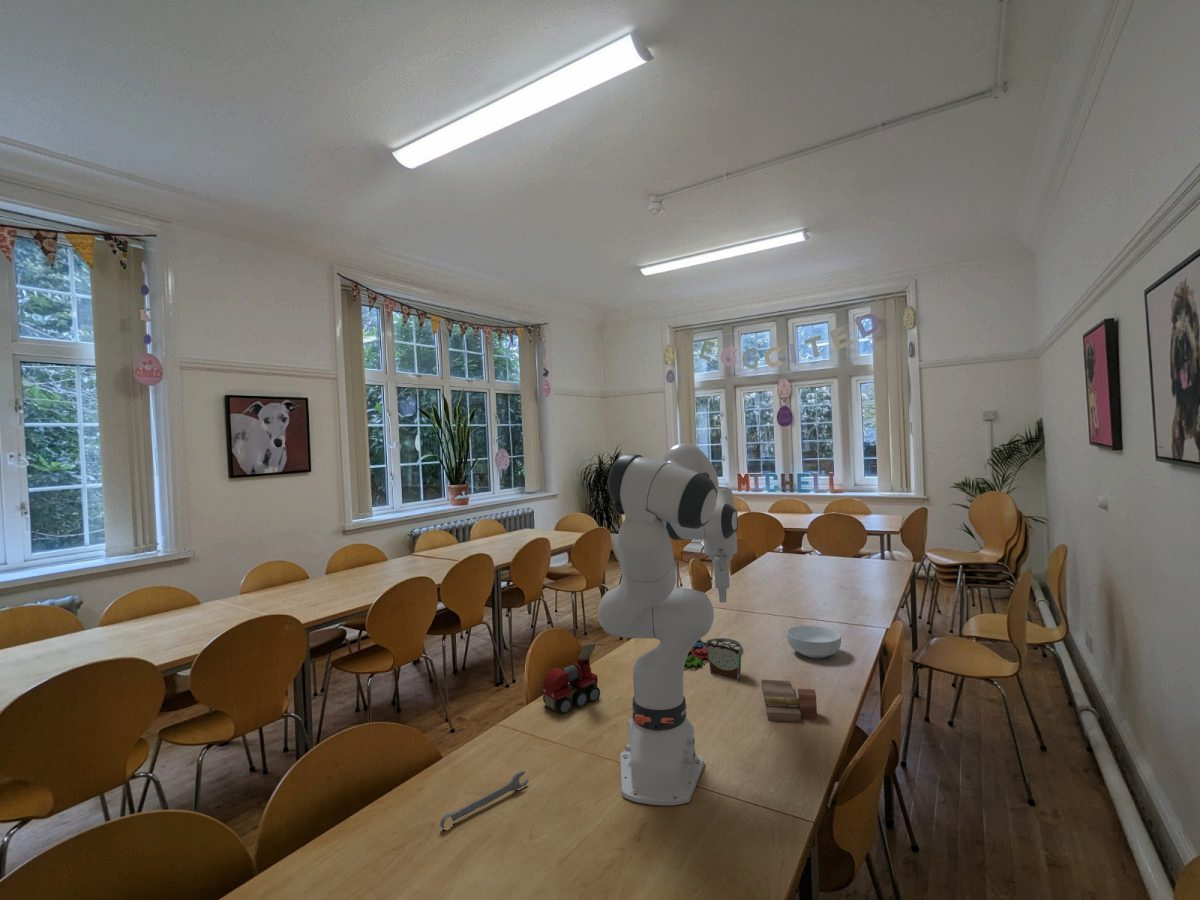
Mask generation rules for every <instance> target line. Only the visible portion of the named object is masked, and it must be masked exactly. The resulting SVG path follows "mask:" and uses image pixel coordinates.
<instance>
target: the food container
mask: <svg viewBox="0 0 1200 900" xmlns="http://www.w3.org/2000/svg"><path fill="white" fill-rule="evenodd" d="M705 643H706V645H705V647H707V650H708V658H709V662H708V664H709V672H710V674H711V673H712V674H711V675H714V674H716V675H715V676H717V675H719V676H718V677H721V676H722V677H721V678H724V677H726V678H725V679H728V678H729V679H728V680H731V679H733V680H732V681H735V680H737V681H736V682H739V681H740V680H741V668H742V665H741V664H742V656H743V655H744V654H745V653H744V648H743V645H742V643H741V642H740V641H738V640H735V639H732V638H726V637H725V638H724V637H723V638H721V637H718V638H711V639H710V638H709V639H706V642H705ZM739 679H740V680H739ZM738 680H739V681H738Z"/></svg>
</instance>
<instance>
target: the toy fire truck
mask: <svg viewBox="0 0 1200 900" xmlns="http://www.w3.org/2000/svg"><path fill="white" fill-rule="evenodd" d="M595 648H596V643H595V642H590V643H585V644H584V645H583V648H582V650H581V652H580V654H579V656H578V657H577V662H575V663H572V664H571V665H568V666H566V667H564V668H559V667H554V668H553V667H552V668H551V669H550V670H549V671H547V673H546V675H545V677H544V680H543V685H542V693H543V696H542V701H543V703H544V704H545V706H546V707H547V708H550V709H552V710H553V711H557V712H559V713H561V715H566V714H567V713H569V712H570V711H571V708H572V706H573V704H574V705H575V706H577V707H579V708H582V706H583V707H585V706H586V705H587V703H588V701H590V703H591V702H592V703H594V701H595V702H597V701H598V700H599V699H600V697H601V690H600V688H599V687H598V675H597V674H596V673H594V672H592V668H591V661H590V658H591V657H592V654H593V652H594V650H595ZM596 700H597V701H596Z"/></svg>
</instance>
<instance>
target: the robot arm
mask: <svg viewBox="0 0 1200 900" xmlns="http://www.w3.org/2000/svg"><path fill="white" fill-rule="evenodd" d="M718 477H719V476H718V474H717V472H716V470H715V468H714V465H713V464H712V462H711V460H710V459H709V457H708V456H707V455H706V453H704V452H703V450H702V449H700V448H699V447H697V446H696V445H694V444H692V443H685V442H684V443H682V442H681V443H677V444H675V445H673V446H670V447H669V449H667V450H666V452H665V453H664V454H663V456H662V459H661V460H660V459H655V458H650V457H644V456H643V455H641V454H635V453H634V454H632V453H630V454H628V453H627V454H622V455H620V456H619V457H618V458H617V459H616V460H615V461H614V462H613V464H612V465H611V468H610V470H609V472H608V476H607V489H608V492H609V497H610V499H611V501H612V502H613V508H614V510H615V512H616V513H618V515H621V516H623V515H625V516H624V520H623V522H622V524H621V525H620V527H619V530H618V534H617V535H618V537H617V556H618V557H617V558H618V563H619V568H620V572H621V581H620V584H618V586H617V585H616V587H614V588H612V589H610V590H607V591H606V592H605V593H604V595H603V596H602V597H601V599H600V601H599V604H598V609H597V616H598V617H597V618H598V621H599V624H600V626H601V628H602V629H603V630H604V632H605V633H607V634H608V635H612V636H616V637H620V638H625V639H656V640H659V644H658V645H657V646H655V647H654V648H652V649H650V650H648V651H646V652H644V653H642V654H641V655H640V656H639V657H637V659H636V660H635V662H634V664H633V668H632V673H633V674H632V676H633V677H632V678H633V692H634V693H633V696H632V697H633V698H632V704H631V710H632V717H631V718H630V719H629V720H627V721H628V722H627V725H628V727H627V729H628V744H625V745H626V746H625V750H624V751H622V752H620V755H619V765H620V766H619V767H620V768H619V769H620V770H619V771H620V788H621V789H620V791H621V797H623V798H624V799H627V800H629V801H632V802H634V803H639V804H644V805H653V806H676V805H683V804H686V803H689V802H691V800H692V797H693V795H694V792H695V789H696V787H697V785H698V782H699V779H700V776H701V774H702V771H703V769H704V767H705V759H704V758H703V757H702V756H700V755H698V754H696V742H695V741H696V739H695V738H696V737H695V730H694V729H695V727H694V724H693V723H692V722H691V721H690V720H689V719H688V718H687V702H686V697H685V695H684V672H685V670H684V664H685V660H686V657H687V655H688V653H689V651H690V650H691V648H692V647H693V645H694V644H695V643H696V642H697V641H698V640H699V639H701V640H702V638H703V637H705V636H706V635H707V634H708V633H709V632H710V630H711V628H712V626H713V624H714V619H715V618H714V617H715V612H714V605H713V604H712V602H711V600H710V597H709V596H708V595H707V594H706V593H705V592H703V591H700V590H697V589H692V588H687V587H675V586H676V584H677V574H676V565H675V556H674V550H673V545H672V541H671V540H673V541H685V540H697V541H698V540H700V541H701V540H702V541H703V552H704V553H705V554H706V555H708V559H709V560H711V561H712V562H713V567H714V568H713V570H714V586H715V588H716V589H717V590H718V598H719V599H718V600H719V602H720V603H723V604H724V603H727V589H730V568H729V567H730V565H729V563H730V561H731V560H733V558H734V556H733V555H735V554H737V553H738V541H737V540H738V539H737V537H738V535H737V532H736V531H738V528H739V521H738V519H739V518H738V510H737V509H736V506H735V505H736V503H735V499H734V495H733V490H732V489H731V488H728V487H724V486H723V487H722V486H719V478H718Z"/></svg>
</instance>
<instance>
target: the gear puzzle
mask: <svg viewBox="0 0 1200 900" xmlns="http://www.w3.org/2000/svg"><path fill="white" fill-rule="evenodd" d="M705 645H706V642H705V641H703V640H702V638H701V639H699V640H698V641H697V642H696V643H695V644H694V645H693V647H692V648H691V650H690V651H689V653H688V655H687V657H686V660H685V664H684V671H685V670H686V669H691V670H696V669H697V670H699V667H703V665H704V664H705V663H706V664H708V663H709V658H708V650H707V647H705ZM707 662H708V663H707ZM706 664H705V665H706ZM705 665H704V666H705ZM691 670H690V671H691ZM697 670H696V671H697ZM686 671H687V670H686Z"/></svg>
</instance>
